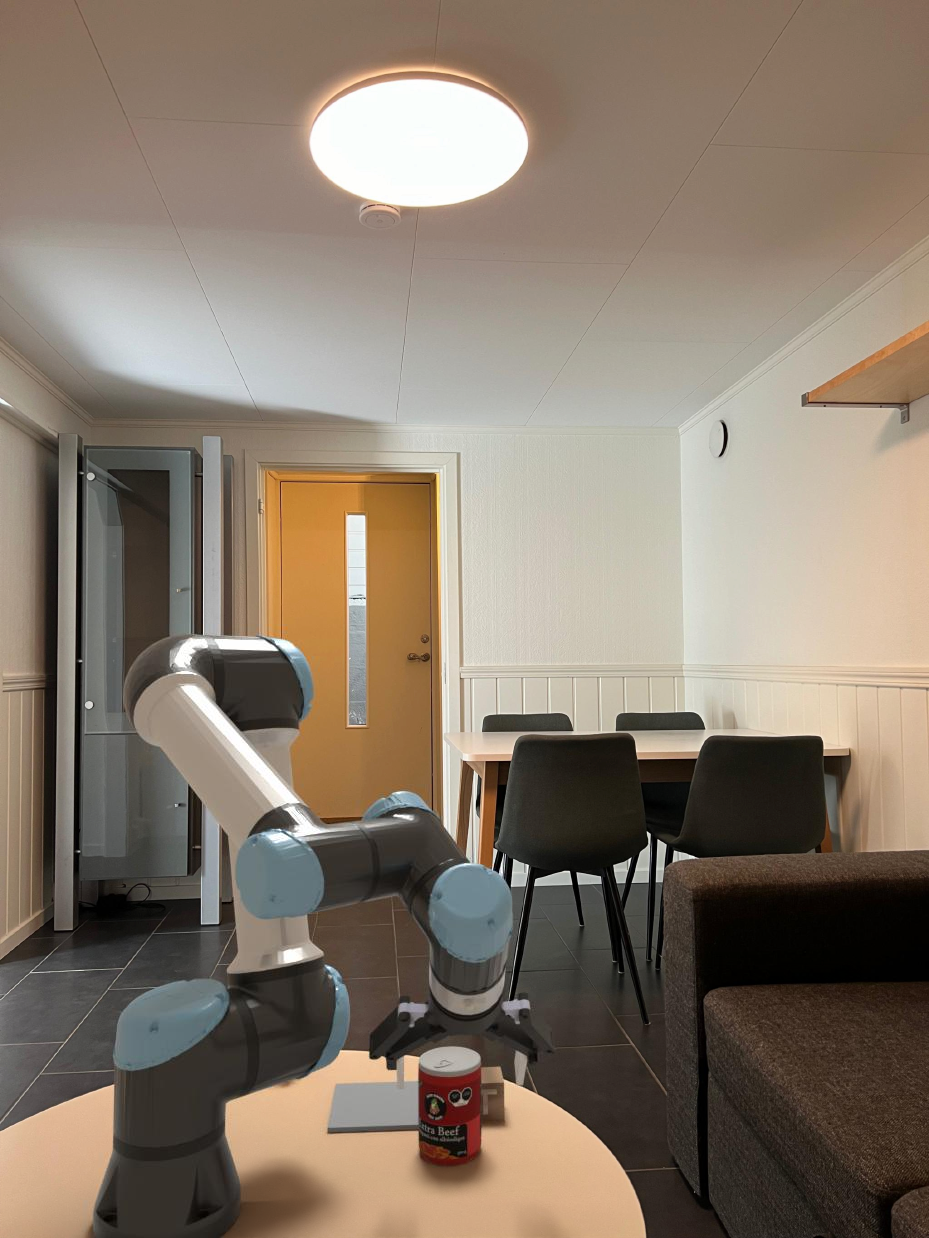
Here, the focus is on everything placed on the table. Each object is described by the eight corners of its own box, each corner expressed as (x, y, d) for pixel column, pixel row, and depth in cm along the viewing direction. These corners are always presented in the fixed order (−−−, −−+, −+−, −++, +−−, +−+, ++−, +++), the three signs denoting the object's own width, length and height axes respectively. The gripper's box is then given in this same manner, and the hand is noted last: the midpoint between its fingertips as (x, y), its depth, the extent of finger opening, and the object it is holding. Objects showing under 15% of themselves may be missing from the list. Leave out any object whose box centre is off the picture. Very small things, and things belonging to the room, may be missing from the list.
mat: (327, 1132, 115) (327, 1127, 115) (335, 1087, 128) (335, 1083, 128) (428, 1129, 116) (428, 1124, 116) (426, 1085, 129) (426, 1080, 129)
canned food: (406, 1157, 109) (406, 1064, 110) (438, 1129, 116) (438, 1041, 117) (462, 1173, 105) (461, 1076, 106) (492, 1143, 112) (491, 1052, 113)
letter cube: (466, 1123, 118) (466, 1083, 118) (464, 1105, 123) (464, 1067, 123) (504, 1122, 118) (504, 1082, 118) (500, 1104, 123) (500, 1066, 124)
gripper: (338, 1021, 86) (349, 1112, 100) (595, 1015, 88) (571, 1105, 101) (343, 949, 92) (352, 1044, 106) (584, 944, 93) (563, 1039, 107)
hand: (459, 1075), depth 103 cm, fingers open, 13 cm apart
